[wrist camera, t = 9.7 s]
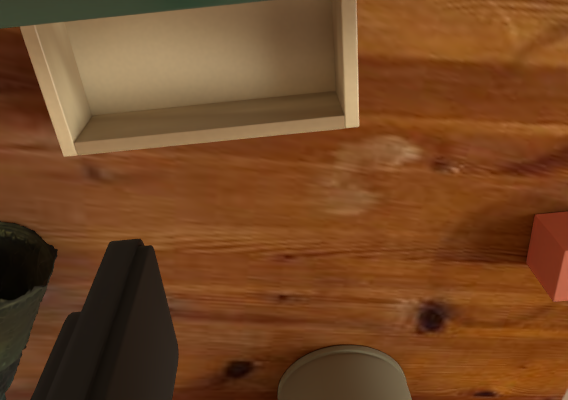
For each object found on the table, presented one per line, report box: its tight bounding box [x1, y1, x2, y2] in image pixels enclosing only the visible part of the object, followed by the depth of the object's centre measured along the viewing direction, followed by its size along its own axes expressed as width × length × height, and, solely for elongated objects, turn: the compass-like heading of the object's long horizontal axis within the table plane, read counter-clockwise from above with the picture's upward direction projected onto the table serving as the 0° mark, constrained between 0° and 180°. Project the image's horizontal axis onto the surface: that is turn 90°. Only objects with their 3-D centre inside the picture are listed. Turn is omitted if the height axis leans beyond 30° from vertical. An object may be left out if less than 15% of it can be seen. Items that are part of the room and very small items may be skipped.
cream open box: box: [20, 0, 359, 156], centre depth 28 cm, size 13×17×5 cm
